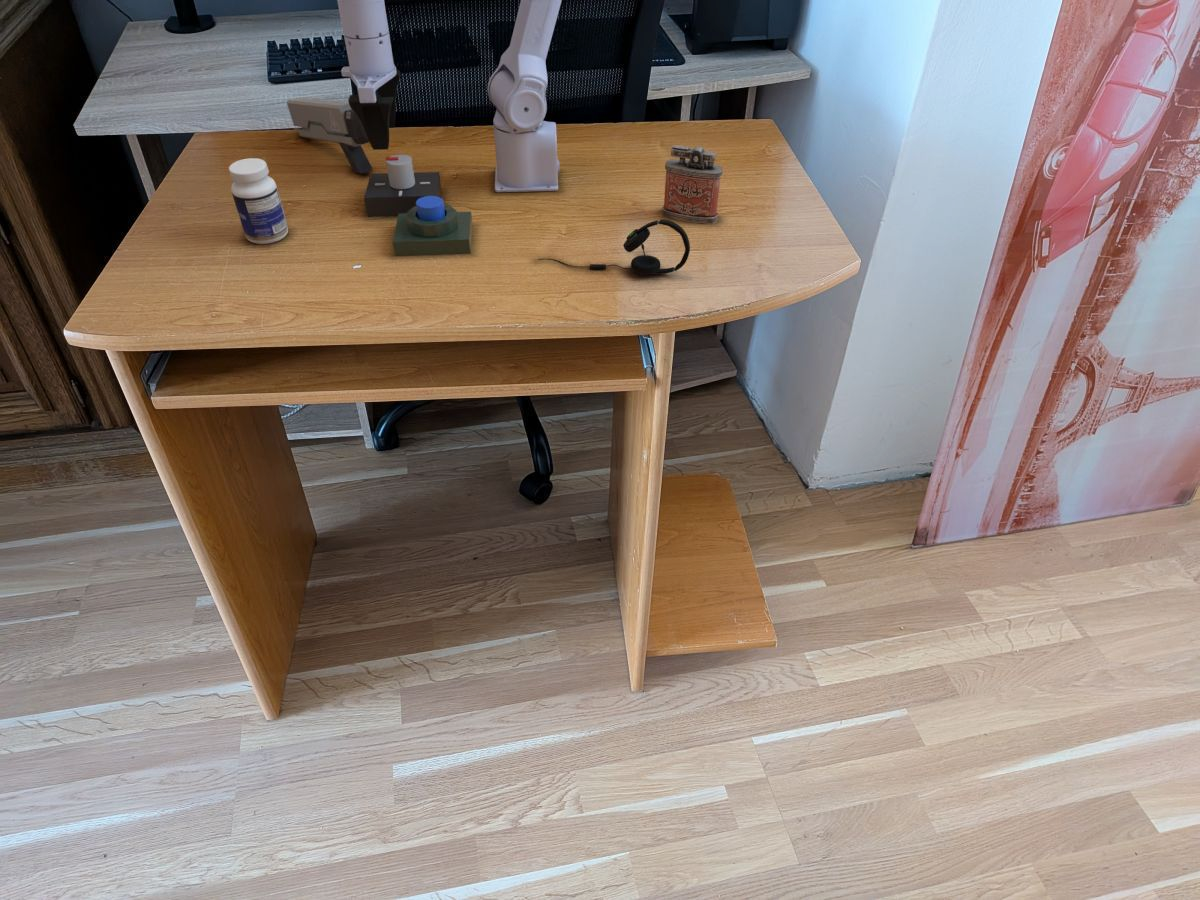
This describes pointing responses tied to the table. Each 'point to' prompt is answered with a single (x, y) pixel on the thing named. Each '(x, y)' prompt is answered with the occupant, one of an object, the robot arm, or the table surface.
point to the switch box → (433, 234)
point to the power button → (430, 208)
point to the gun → (332, 127)
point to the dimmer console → (398, 193)
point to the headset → (644, 262)
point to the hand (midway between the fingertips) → (384, 137)
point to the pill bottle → (257, 201)
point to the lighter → (692, 185)
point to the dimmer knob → (400, 171)
